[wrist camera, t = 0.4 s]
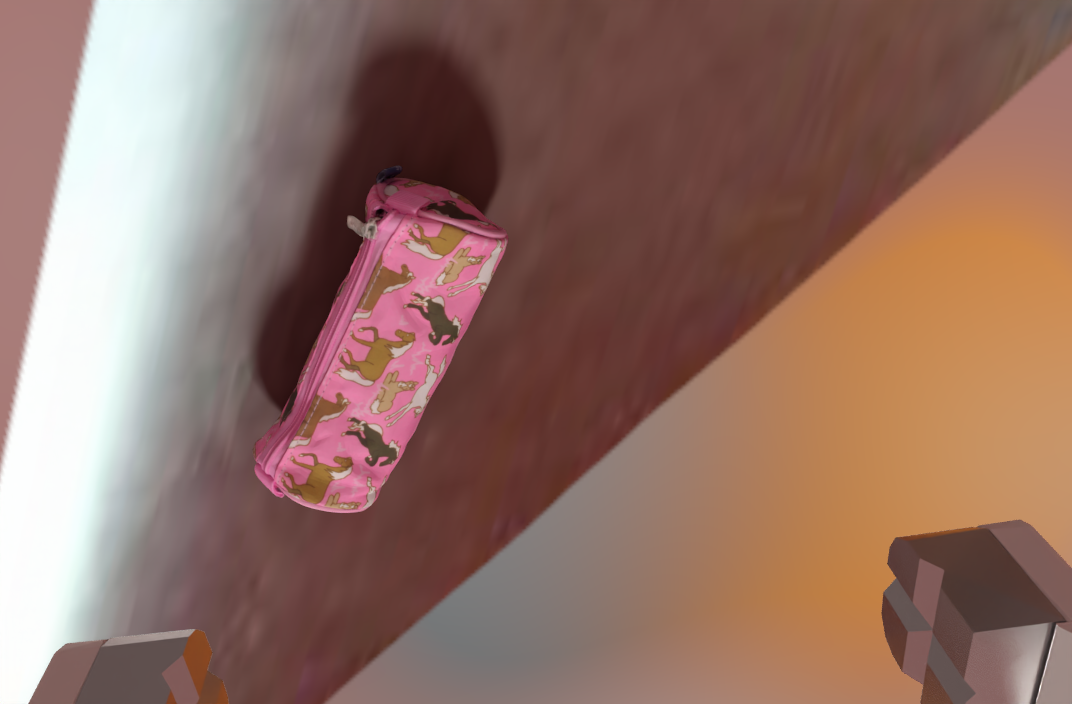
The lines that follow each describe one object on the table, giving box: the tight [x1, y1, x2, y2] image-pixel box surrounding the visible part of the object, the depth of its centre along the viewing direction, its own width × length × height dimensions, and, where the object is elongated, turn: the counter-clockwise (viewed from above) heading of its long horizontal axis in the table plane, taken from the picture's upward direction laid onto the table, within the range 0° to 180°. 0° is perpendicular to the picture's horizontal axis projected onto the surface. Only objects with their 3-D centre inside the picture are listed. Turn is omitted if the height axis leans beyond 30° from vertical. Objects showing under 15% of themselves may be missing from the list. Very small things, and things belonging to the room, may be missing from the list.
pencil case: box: [253, 166, 508, 513], centre depth 54 cm, size 21×9×9 cm, turn 154°
